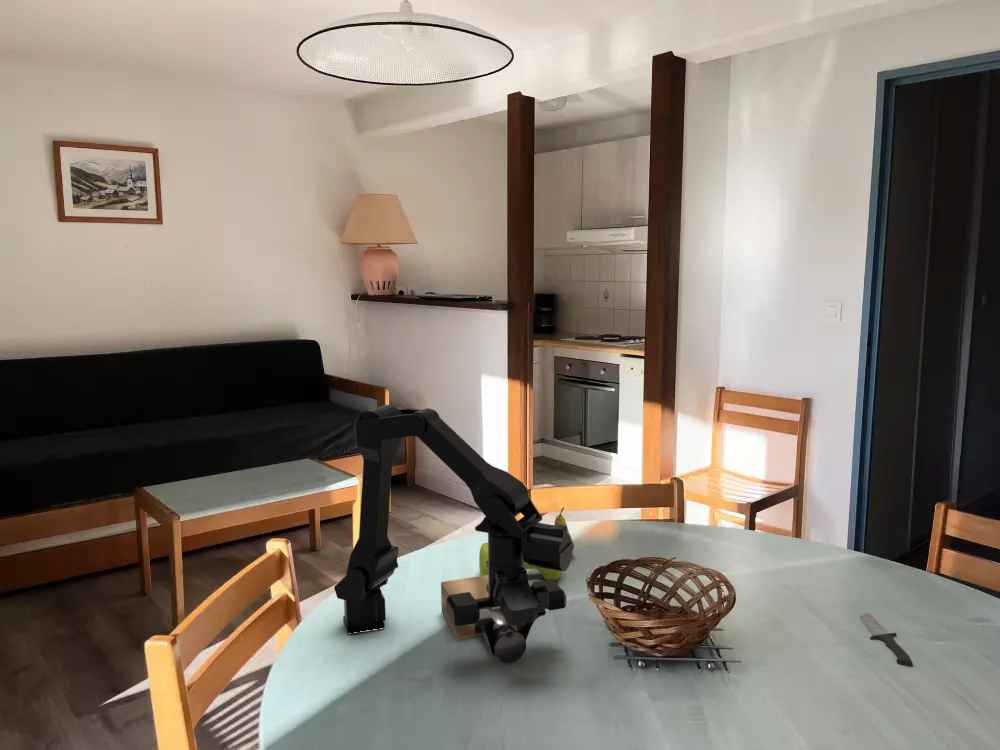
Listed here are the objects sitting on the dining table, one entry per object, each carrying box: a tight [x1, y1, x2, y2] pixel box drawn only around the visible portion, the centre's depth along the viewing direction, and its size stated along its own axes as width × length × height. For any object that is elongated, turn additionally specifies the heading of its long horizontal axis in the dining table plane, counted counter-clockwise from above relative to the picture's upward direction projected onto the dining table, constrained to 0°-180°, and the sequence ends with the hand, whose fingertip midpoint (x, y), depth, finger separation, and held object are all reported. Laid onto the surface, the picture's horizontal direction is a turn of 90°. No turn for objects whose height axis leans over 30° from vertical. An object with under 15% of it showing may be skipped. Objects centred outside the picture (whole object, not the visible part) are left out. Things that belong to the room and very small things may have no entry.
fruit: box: [553, 507, 575, 553], centre depth 164 cm, size 6×6×12 cm
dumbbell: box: [478, 542, 561, 581], centre depth 154 cm, size 16×8×7 cm, turn 93°
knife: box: [859, 612, 913, 667], centre depth 131 cm, size 22×1×5 cm
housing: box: [440, 575, 517, 641], centre depth 136 cm, size 12×10×6 cm
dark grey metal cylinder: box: [491, 608, 527, 664], centre depth 128 cm, size 5×15×5 cm, turn 19°
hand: (506, 651), depth 123 cm, fingers closed on dark grey metal cylinder, 4 cm apart
